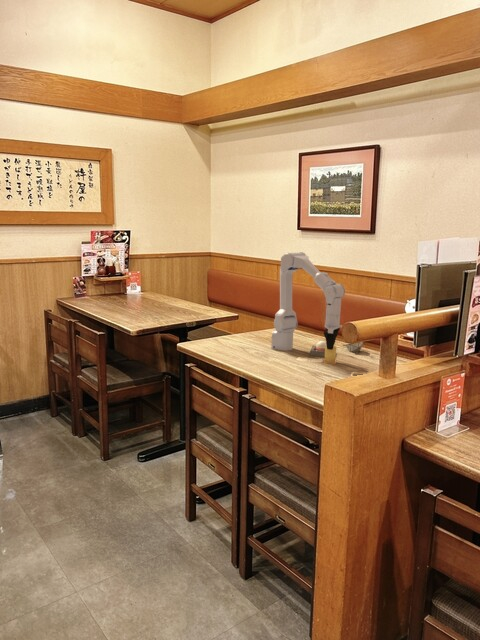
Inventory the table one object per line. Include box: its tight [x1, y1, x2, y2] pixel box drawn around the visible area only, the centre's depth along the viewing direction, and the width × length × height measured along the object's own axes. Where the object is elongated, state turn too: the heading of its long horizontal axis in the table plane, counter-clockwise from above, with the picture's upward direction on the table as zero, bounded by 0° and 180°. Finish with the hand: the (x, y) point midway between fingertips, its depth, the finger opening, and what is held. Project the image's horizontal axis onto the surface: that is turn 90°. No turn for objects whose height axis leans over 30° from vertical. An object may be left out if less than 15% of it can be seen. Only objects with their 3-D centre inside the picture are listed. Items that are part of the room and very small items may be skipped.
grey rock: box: [342, 341, 366, 353], centre depth 224 cm, size 9×8×10 cm
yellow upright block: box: [323, 345, 337, 364], centre depth 205 cm, size 4×4×6 cm
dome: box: [315, 340, 326, 351], centre depth 216 cm, size 6×6×5 cm
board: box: [296, 356, 337, 365], centre depth 212 cm, size 17×22×1 cm
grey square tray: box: [309, 345, 325, 358], centre depth 217 cm, size 9×9×2 cm
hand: (330, 347), depth 204 cm, fingers open, 7 cm apart
